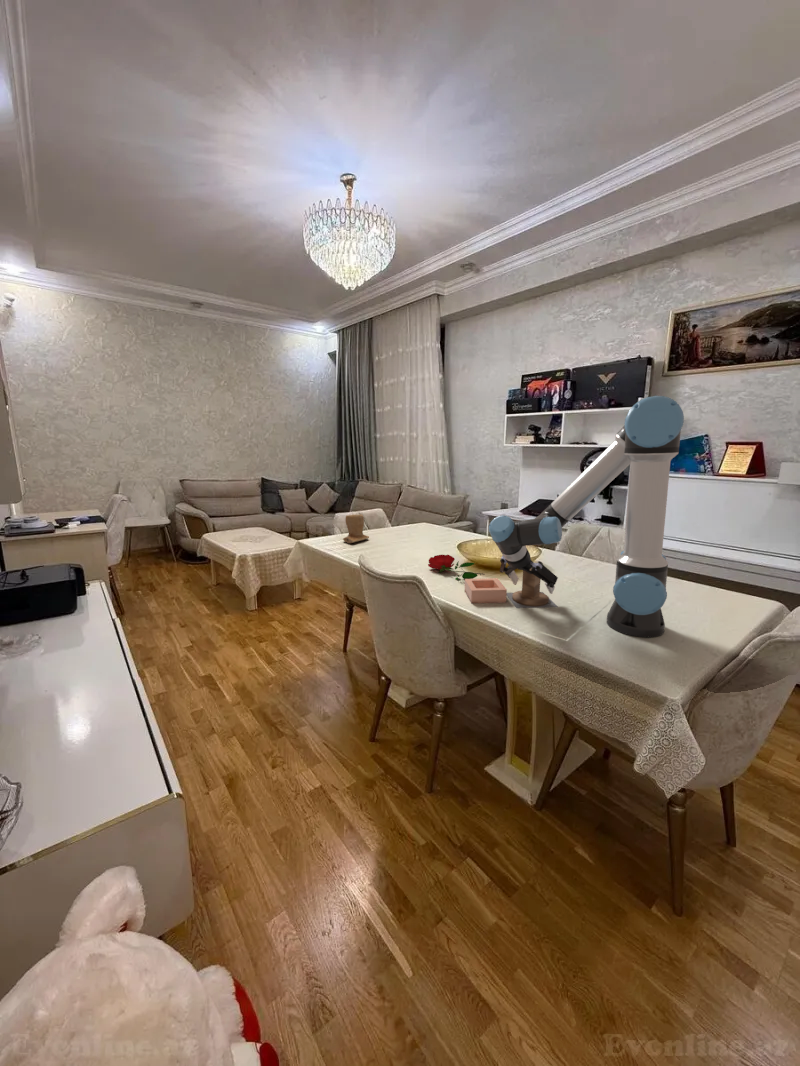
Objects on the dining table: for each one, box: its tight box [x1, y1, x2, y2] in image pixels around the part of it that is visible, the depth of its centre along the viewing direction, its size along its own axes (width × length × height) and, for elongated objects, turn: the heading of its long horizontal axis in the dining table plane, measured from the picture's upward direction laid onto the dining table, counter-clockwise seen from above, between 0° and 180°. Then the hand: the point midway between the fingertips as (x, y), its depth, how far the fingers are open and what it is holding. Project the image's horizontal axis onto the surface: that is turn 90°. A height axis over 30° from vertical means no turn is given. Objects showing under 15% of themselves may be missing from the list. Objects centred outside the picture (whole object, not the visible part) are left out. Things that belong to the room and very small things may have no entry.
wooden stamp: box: [342, 513, 370, 544], centre depth 234 cm, size 15×12×15 cm
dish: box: [464, 577, 508, 604], centre depth 152 cm, size 12×12×5 cm
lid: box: [512, 568, 550, 606], centre depth 147 cm, size 12×12×11 cm
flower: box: [427, 554, 486, 581], centre depth 174 cm, size 9×10×30 cm
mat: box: [506, 591, 559, 609], centre depth 149 cm, size 14×14×1 cm
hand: (534, 585), depth 149 cm, fingers open, 12 cm apart
